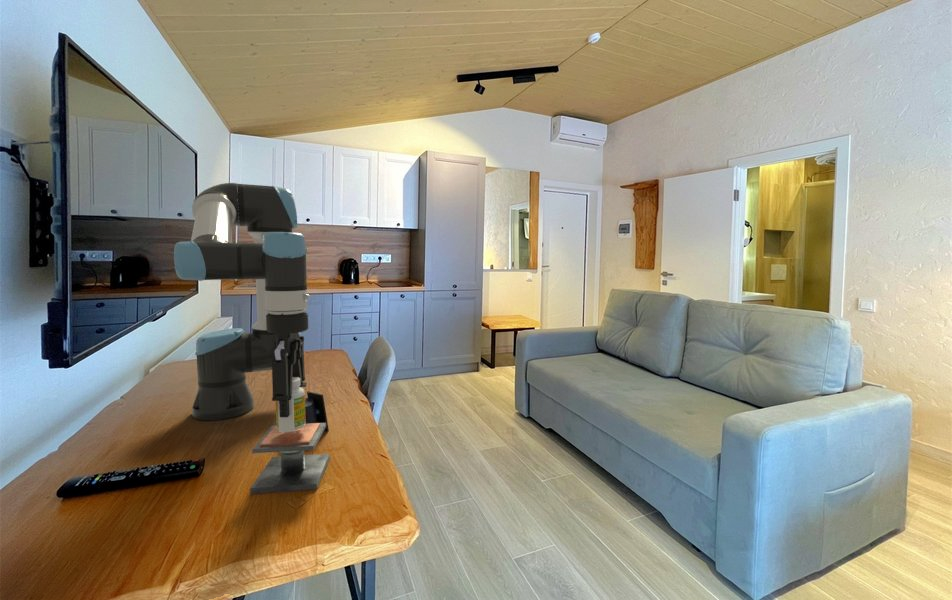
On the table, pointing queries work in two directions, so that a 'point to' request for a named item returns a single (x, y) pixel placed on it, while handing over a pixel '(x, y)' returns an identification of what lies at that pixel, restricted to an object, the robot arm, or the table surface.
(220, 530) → the table surface
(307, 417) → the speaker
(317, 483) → the stand
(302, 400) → the supplement bottle
